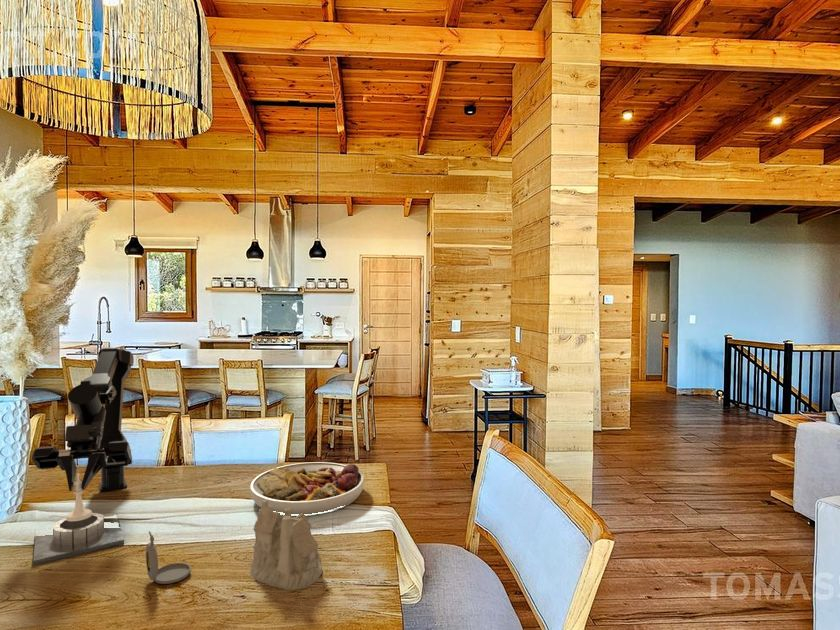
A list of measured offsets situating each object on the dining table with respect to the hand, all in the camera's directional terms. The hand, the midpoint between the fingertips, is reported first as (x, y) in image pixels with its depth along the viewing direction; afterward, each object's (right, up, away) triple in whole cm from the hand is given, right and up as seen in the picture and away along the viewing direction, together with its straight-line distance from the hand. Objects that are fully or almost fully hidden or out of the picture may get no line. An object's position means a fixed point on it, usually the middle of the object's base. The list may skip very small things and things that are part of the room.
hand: (76, 489), depth 114 cm
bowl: (+45, -11, +27) cm, 54 cm away
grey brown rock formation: (+50, -13, -9) cm, 52 cm away
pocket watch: (+26, -13, -14) cm, 32 cm away
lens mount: (-1, -12, +2) cm, 12 cm away
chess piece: (0, -7, +2) cm, 7 cm away
